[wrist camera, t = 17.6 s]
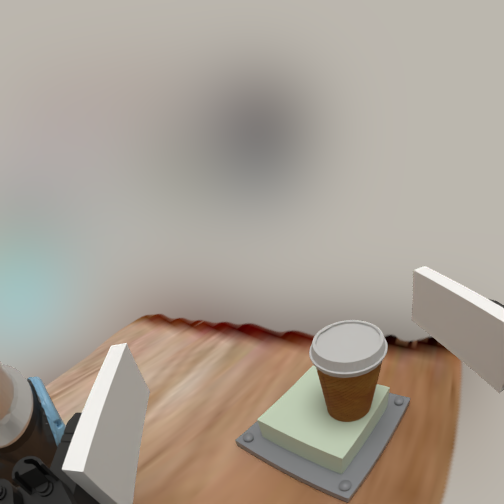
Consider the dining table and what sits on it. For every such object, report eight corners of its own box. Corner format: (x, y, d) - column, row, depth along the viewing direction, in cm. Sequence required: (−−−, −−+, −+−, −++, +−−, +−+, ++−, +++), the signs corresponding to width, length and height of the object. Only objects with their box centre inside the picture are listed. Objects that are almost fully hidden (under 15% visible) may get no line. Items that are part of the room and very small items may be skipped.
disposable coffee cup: (369, 376, 40) (370, 311, 37) (391, 418, 31) (401, 350, 28) (310, 392, 40) (301, 328, 37) (323, 439, 31) (317, 374, 28)
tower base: (237, 445, 39) (227, 423, 37) (311, 375, 52) (308, 351, 50) (348, 502, 25) (350, 485, 23) (409, 403, 38) (414, 378, 36)
